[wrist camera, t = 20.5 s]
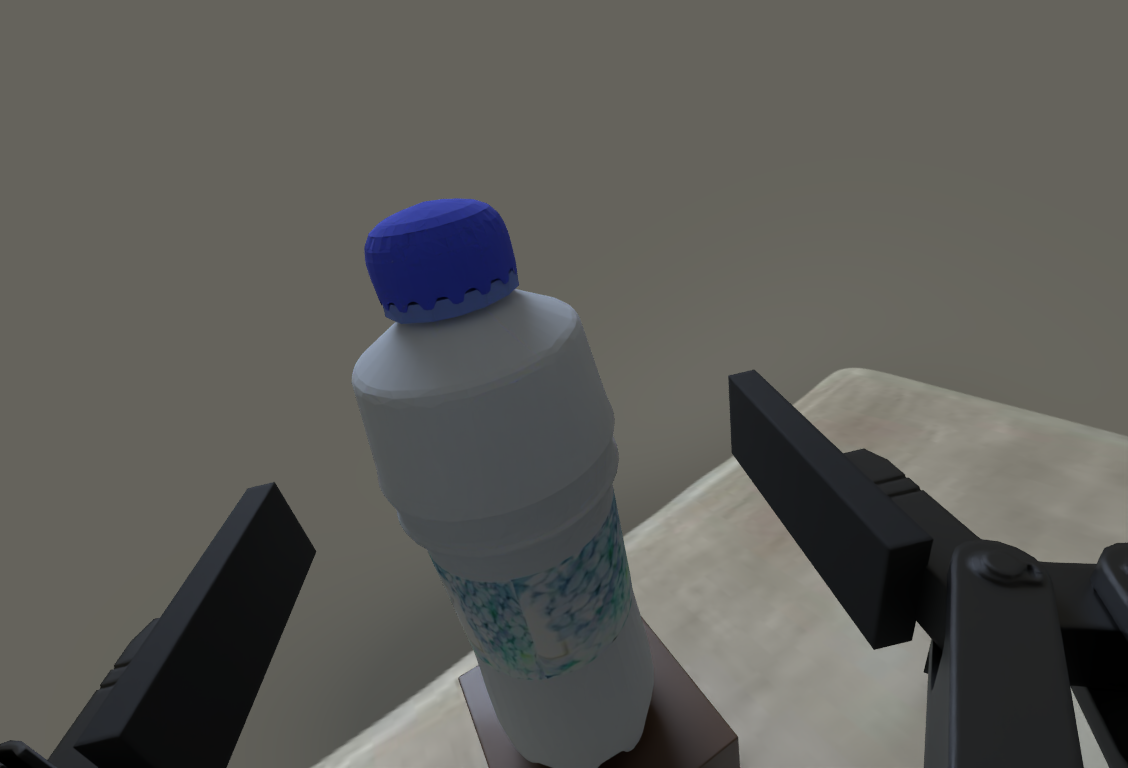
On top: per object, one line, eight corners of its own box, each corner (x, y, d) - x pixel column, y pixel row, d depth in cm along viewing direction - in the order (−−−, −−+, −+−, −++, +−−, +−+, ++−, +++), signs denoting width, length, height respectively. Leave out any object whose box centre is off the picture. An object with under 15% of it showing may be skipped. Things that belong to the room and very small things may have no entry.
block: (630, 654, 28) (614, 582, 26) (743, 811, 21) (738, 737, 19) (492, 746, 26) (457, 677, 23) (570, 961, 19) (534, 899, 16)
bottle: (508, 640, 24) (337, 207, 14) (649, 619, 23) (566, 158, 14) (494, 814, 18) (189, 274, 9) (682, 791, 17) (577, 192, 8)
